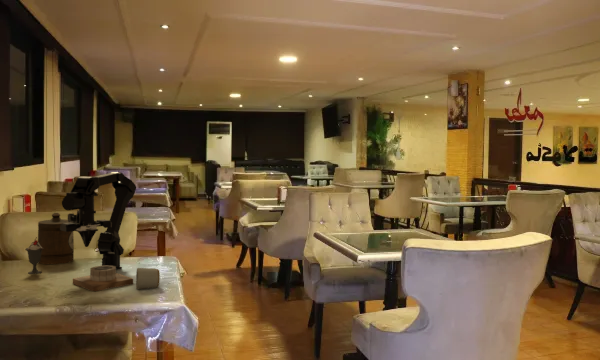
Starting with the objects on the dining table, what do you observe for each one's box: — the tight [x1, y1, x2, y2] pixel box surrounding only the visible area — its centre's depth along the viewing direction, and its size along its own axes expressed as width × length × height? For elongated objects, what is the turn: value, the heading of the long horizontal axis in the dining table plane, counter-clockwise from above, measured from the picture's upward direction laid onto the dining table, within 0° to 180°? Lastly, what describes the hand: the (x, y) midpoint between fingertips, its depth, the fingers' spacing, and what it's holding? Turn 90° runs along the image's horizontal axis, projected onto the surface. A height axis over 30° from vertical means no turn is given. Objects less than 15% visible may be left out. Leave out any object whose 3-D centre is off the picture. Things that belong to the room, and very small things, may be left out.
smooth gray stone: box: [96, 267, 110, 270], centre depth 199 cm, size 5×5×4 cm
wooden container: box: [37, 212, 75, 265], centre depth 236 cm, size 15×15×22 cm
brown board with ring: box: [72, 265, 134, 293], centre depth 199 cm, size 16×16×6 cm
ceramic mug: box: [135, 267, 161, 290], centre depth 195 cm, size 11×8×8 cm
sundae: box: [25, 236, 44, 275], centre depth 213 cm, size 7×7×15 cm
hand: (86, 246), depth 209 cm, fingers closed
